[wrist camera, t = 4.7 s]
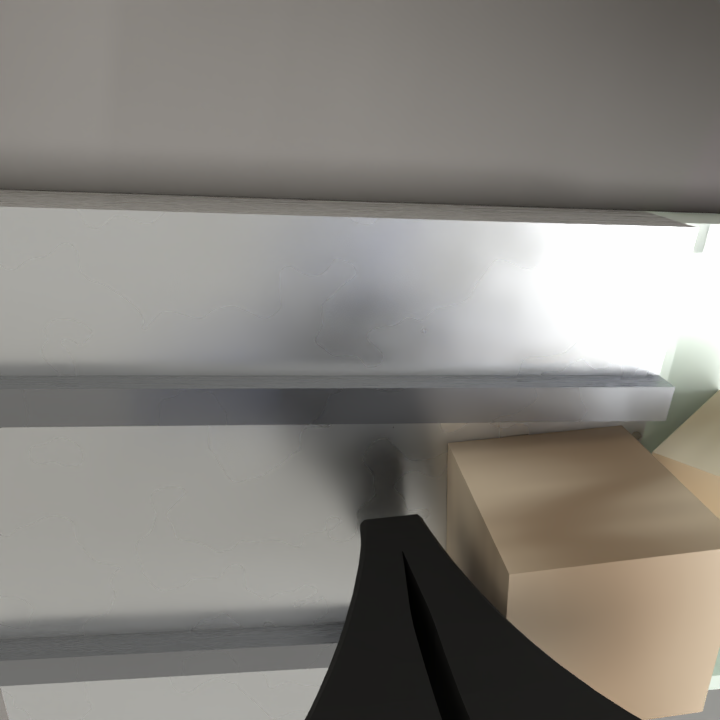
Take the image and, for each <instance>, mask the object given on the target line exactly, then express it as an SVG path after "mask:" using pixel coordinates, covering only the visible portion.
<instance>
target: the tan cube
mask: <svg viewBox="0 0 720 720" xmlns="http://www.w3.org/2000/svg"><path fill="white" fill-rule="evenodd" d="M446 552H447V554H448V555H449V556H450V557H451V559H452V560H453V561H454V562H455V564H456V565H457V566H458V567H459V568H460V569H461V571H462V572H463V573H464V574H465V575H466V576H467V578H468V579H469V580H470V581H471V582H472V583H473V585H474V586H475V587H476V588H477V589H478V590H479V591H480V592H481V593H482V594H483V595H484V596H485V597H486V599H487V600H488V601H489V602H490V603H491V604H492V605H493V606H494V607H495V608H496V609H497V610H498V611H499V612H500V613H501V614H502V615H503V616H504V617H505V618H506V619H507V620H508V621H509V622H511V623H512V624H513V625H514V626H515V627H516V628H517V629H518V630H519V631H520V632H521V633H523V634H524V635H525V636H526V637H527V638H528V639H529V640H530V641H532V642H533V643H534V644H535V645H536V646H538V647H539V648H540V649H541V650H542V651H544V652H545V653H546V654H547V655H548V656H550V657H551V658H552V659H553V660H555V661H556V662H557V663H558V664H560V665H561V666H563V667H564V668H565V669H567V670H568V671H569V672H571V673H572V674H573V675H575V676H576V677H578V678H579V679H580V680H582V681H583V682H584V683H586V684H587V685H589V686H590V687H591V688H593V689H594V690H595V691H597V692H598V693H600V694H602V695H603V696H605V697H606V698H608V699H609V700H611V701H612V702H614V703H616V704H617V705H619V706H620V707H622V708H623V709H625V710H626V711H628V712H630V713H631V714H633V715H635V716H637V717H638V718H640V719H642V720H648V719H655V718H662V717H669V716H676V715H683V714H690V713H697V712H702V711H703V707H704V704H705V700H706V696H707V692H708V689H709V685H710V681H711V677H712V674H713V670H714V666H715V663H716V659H717V655H718V651H719V648H720V520H719V519H718V518H717V517H716V516H715V515H714V514H713V513H712V512H711V511H710V510H709V509H708V508H707V507H706V506H705V505H704V504H703V503H702V502H701V501H700V500H699V499H698V498H697V497H696V496H695V495H694V494H693V493H692V492H690V491H689V490H688V489H687V488H686V487H685V486H684V485H683V484H682V483H681V482H680V481H679V480H678V479H677V478H676V477H675V476H674V475H673V474H672V473H671V472H670V471H669V470H668V469H667V468H666V467H665V466H664V465H662V464H661V463H660V462H659V461H658V460H657V459H656V458H655V457H654V456H653V455H652V454H651V453H650V452H649V451H648V450H647V449H646V448H645V447H644V446H643V445H642V444H641V443H640V442H639V441H638V440H637V439H636V438H635V437H633V436H632V435H631V434H630V433H629V432H628V431H627V430H626V429H625V428H624V427H623V426H622V425H621V426H611V427H601V428H591V429H581V430H571V431H561V432H551V433H541V434H531V435H522V436H512V437H502V438H492V439H482V440H472V441H462V442H452V443H448V456H447V533H446Z"/></svg>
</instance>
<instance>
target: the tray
mask: <svg viewBox="0 0 720 720" xmlns="http://www.w3.org/2000/svg"><path fill="white" fill-rule="evenodd" d="M645 212H648V213H652V214H655V215H658V216H662V217H665V218H668V219H671V220H675V221H678V222H681V223H685V224H688V225H691V226H694V227H698V232H697V235H696V239H695V243H694V247H693V250H692V254H691V258H690V262H689V265H688V269H687V273H686V276H685V280H684V284H683V288H682V291H681V295H680V299H679V303H678V306H677V310H676V314H675V318H674V321H673V325H672V329H671V333H670V336H669V340H668V344H667V347H666V351H665V355H664V359H663V362H662V366H661V370H660V374H659V376H661V377H662V378H663V379H665V380H666V381H667V382H669V383H670V384H672V385H673V386H674V387H675V390H674V393H673V397H672V401H671V404H670V408H669V411H668V415H667V418H666V421H647V422H646V426H645V430H644V433H643V437H642V441H641V444H642V445H643V446H644V447H645V448H646V449H647V450H648V451H649V452H650V453H651V454H652V452H653V451H654V450H655V449H656V448H657V447H658V446H659V445H660V444H661V443H662V442H663V441H665V440H666V439H667V438H668V437H669V436H670V435H671V434H672V433H673V432H674V431H675V430H676V429H677V428H679V427H680V426H681V425H682V424H683V423H684V422H685V421H686V420H687V419H688V418H689V417H690V416H691V415H693V414H694V413H695V412H696V411H697V410H698V409H699V408H700V407H701V406H702V405H703V404H704V403H705V402H707V401H708V400H709V399H710V398H711V397H712V396H713V395H714V394H715V393H716V392H717V391H718V390H720V214H716V213H686V212H656V211H645ZM711 689H720V648H719V651H718V655H717V659H716V663H715V666H714V670H713V674H712V677H711V681H710V685H709V689H708V690H711Z"/></svg>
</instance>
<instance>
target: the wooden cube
mask: <svg viewBox="0 0 720 720" xmlns="http://www.w3.org/2000/svg"><path fill="white" fill-rule="evenodd" d="M652 455H653V456H654V457H655V458H656V459H657V460H658V461H659V462H660V463H661V464H662V465H664V466H665V467H666V468H667V469H668V470H669V471H670V472H671V473H672V474H673V475H674V476H675V477H676V478H677V479H678V480H679V481H680V482H681V483H682V484H683V485H684V486H685V487H686V488H687V489H688V490H689V491H690V492H692V493H693V494H694V495H695V496H696V497H697V498H698V499H699V500H700V501H701V502H702V503H703V504H704V505H705V506H706V507H707V508H708V509H709V510H710V511H711V512H712V513H713V514H714V515H715V516H716V517H717V518H718V519H719V520H720V390H718V391H717V392H716V393H715V394H714V395H713V396H712V397H711V398H710V399H709V400H708V401H707V402H705V403H704V404H703V405H702V406H701V407H700V408H699V409H698V410H697V411H696V412H695V413H694V414H693V415H691V416H690V417H689V418H688V419H687V420H686V421H685V422H684V423H683V424H682V425H681V426H680V427H679V428H677V429H676V430H675V431H674V432H673V433H672V434H671V435H670V436H669V437H668V438H667V439H666V440H665V441H663V442H662V443H661V444H660V445H659V446H658V447H657V448H656V449H655V450H654V451H653V452H652Z"/></svg>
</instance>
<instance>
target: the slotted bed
mask: <svg viewBox="0 0 720 720" xmlns="http://www.w3.org/2000/svg"><path fill="white" fill-rule="evenodd" d="M697 232H698V227H694V226H691V225H688V224H685V223H681V222H678V221H675V220H671V219H668V218H665V217H662V216H658V215H655V214H652V213H648V212H645V211H626V210H597V209H567V208H537V207H507V206H477V205H447V204H417V203H387V202H357V201H327V200H297V199H267V198H237V197H207V196H177V195H147V194H117V193H87V192H57V191H27V190H0V688H1V692H2V695H3V699H4V703H5V707H6V710H7V714H8V718H9V720H305V718H306V716H307V714H308V712H309V710H310V708H311V706H312V704H313V702H314V700H315V698H316V696H317V693H318V691H319V689H320V686H321V684H322V682H323V679H324V677H325V675H326V673H327V670H328V668H329V665H330V663H331V660H332V658H333V655H334V652H335V650H336V647H337V644H338V641H339V638H340V635H341V632H342V629H343V626H344V623H345V619H346V616H347V612H348V609H349V605H350V602H351V598H352V594H353V590H354V585H355V580H356V575H357V570H358V565H359V557H360V548H361V538H360V524H361V523H362V522H363V521H364V520H366V519H375V518H384V517H393V516H403V515H412V514H418V515H419V516H420V517H422V518H423V520H424V522H425V523H426V525H427V526H428V528H429V529H430V531H431V532H432V533H433V535H434V536H435V538H436V539H437V540H438V542H439V543H440V544H441V546H442V547H443V548H444V550H445V551H446V533H447V456H448V443H452V442H462V441H472V440H482V439H492V438H502V437H512V436H522V435H531V434H541V433H551V432H561V431H571V430H581V429H591V428H601V427H611V426H621V425H622V426H623V427H624V428H625V429H626V430H627V431H628V432H629V433H630V434H631V435H632V436H633V437H635V438H636V439H637V440H638V441H639V442H640V443H641V441H642V437H643V433H644V430H645V426H646V422H647V421H666V418H667V415H668V411H669V408H670V404H671V401H672V397H673V393H674V390H675V387H674V386H673V385H672V384H670V383H669V382H667V381H666V380H665V379H663V378H662V377H661V376H659V374H660V370H661V366H662V362H663V359H664V355H665V351H666V347H667V344H668V340H669V336H670V333H671V329H672V325H673V321H674V318H675V314H676V310H677V306H678V303H679V299H680V295H681V291H682V288H683V284H684V280H685V276H686V273H687V269H688V265H689V262H690V258H691V254H692V250H693V247H694V243H695V239H696V235H697Z"/></svg>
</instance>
